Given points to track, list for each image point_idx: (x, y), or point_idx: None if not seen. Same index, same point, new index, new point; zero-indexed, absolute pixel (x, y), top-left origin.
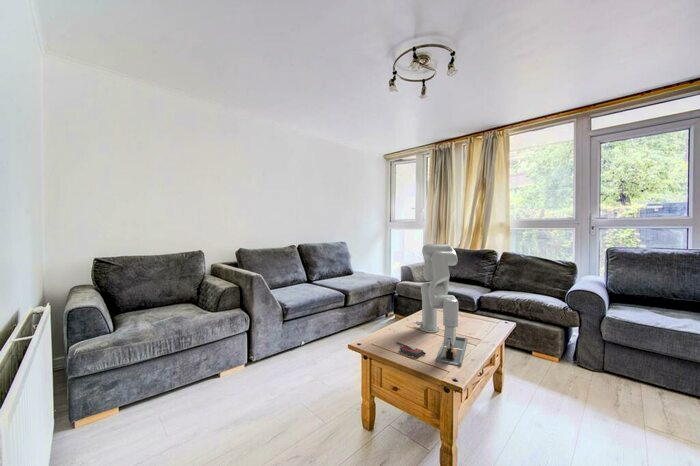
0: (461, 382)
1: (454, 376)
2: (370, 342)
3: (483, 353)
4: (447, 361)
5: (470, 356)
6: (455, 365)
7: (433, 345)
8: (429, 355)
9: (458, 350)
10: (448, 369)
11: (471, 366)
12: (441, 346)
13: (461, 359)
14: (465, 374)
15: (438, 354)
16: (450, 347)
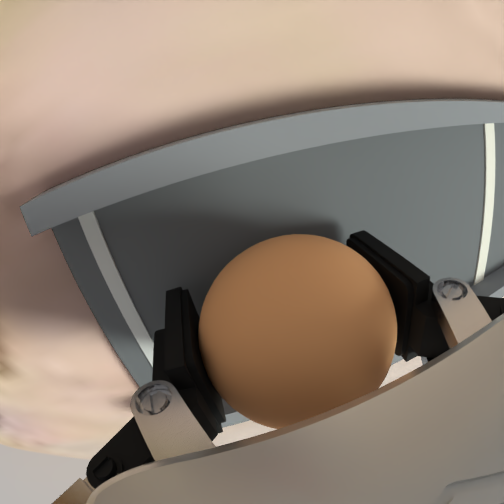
0: (2, 440)
1: (3, 410)
2: None
3: None
4: (133, 311)
5: (400, 362)
6: (139, 381)
7: (459, 9)
8: (163, 15)
9: (464, 260)
10: (26, 361)
11: (231, 438)
12: (460, 102)
13: (239, 420)
14: (86, 446)
15: (159, 163)
16: (295, 419)
